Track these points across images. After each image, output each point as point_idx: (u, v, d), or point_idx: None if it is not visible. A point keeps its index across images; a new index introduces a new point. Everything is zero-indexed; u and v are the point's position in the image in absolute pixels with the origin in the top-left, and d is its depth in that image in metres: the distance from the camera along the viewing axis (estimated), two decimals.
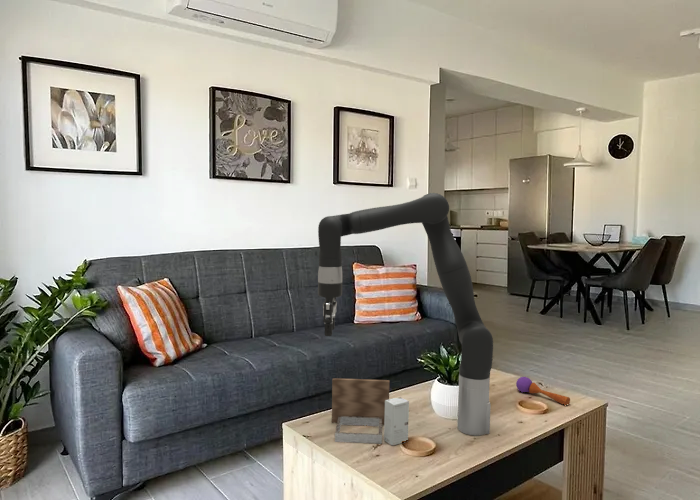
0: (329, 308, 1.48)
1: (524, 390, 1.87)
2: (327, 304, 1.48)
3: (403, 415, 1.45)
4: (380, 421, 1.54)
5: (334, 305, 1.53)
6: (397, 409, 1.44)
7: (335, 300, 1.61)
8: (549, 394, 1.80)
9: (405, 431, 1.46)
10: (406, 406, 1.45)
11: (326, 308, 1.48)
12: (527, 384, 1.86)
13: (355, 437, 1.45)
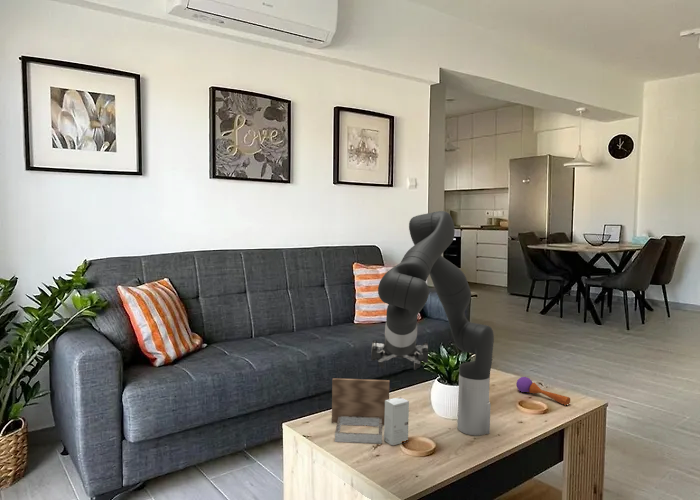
0: None
1: (524, 390, 1.87)
2: (427, 347, 1.22)
3: (403, 415, 1.45)
4: (380, 421, 1.54)
5: None
6: (397, 409, 1.44)
7: None
8: (549, 394, 1.80)
9: (405, 431, 1.46)
10: (406, 406, 1.45)
11: None
12: (527, 384, 1.86)
13: (355, 437, 1.45)
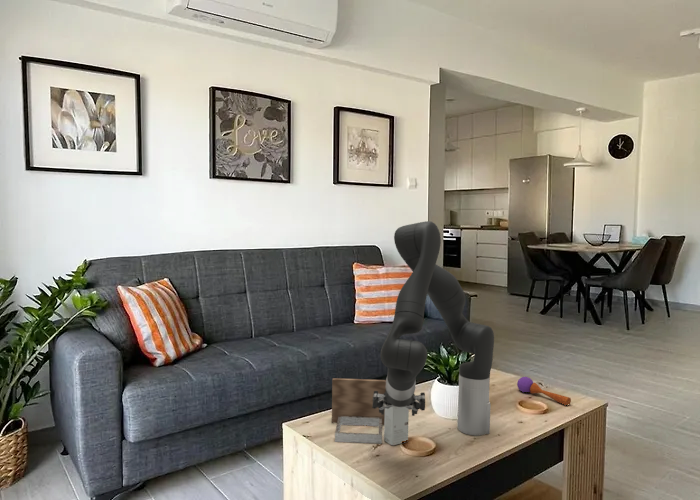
0: None
1: (525, 390, 1.87)
2: (424, 397, 1.32)
3: (403, 415, 1.45)
4: (380, 421, 1.54)
5: None
6: (397, 409, 1.44)
7: None
8: (550, 394, 1.80)
9: (405, 431, 1.46)
10: None
11: None
12: (528, 384, 1.86)
13: (355, 437, 1.45)
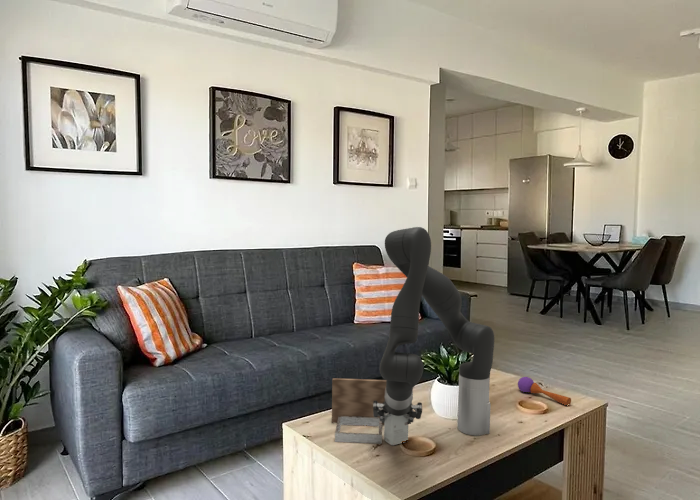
0: None
1: (525, 390, 1.87)
2: (421, 407, 1.40)
3: None
4: (380, 421, 1.54)
5: None
6: None
7: None
8: (550, 394, 1.80)
9: (405, 431, 1.46)
10: None
11: None
12: (528, 384, 1.86)
13: (355, 437, 1.45)
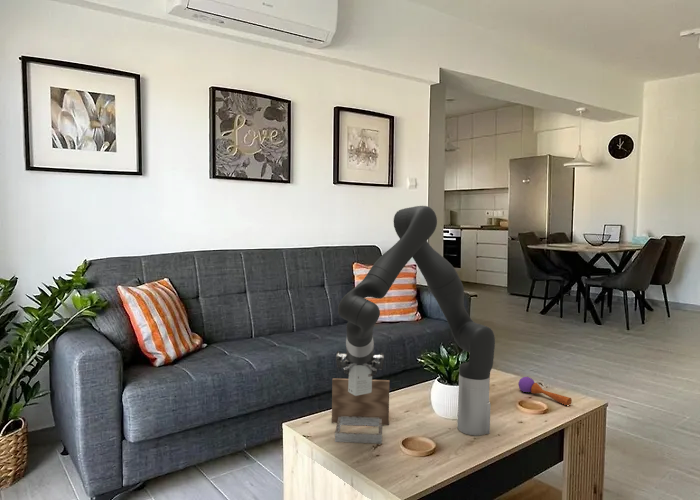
0: None
1: (526, 390, 1.87)
2: (383, 357, 1.43)
3: (366, 367, 1.48)
4: (380, 421, 1.54)
5: None
6: None
7: None
8: (551, 394, 1.80)
9: (369, 382, 1.49)
10: None
11: None
12: (529, 384, 1.86)
13: (355, 437, 1.45)
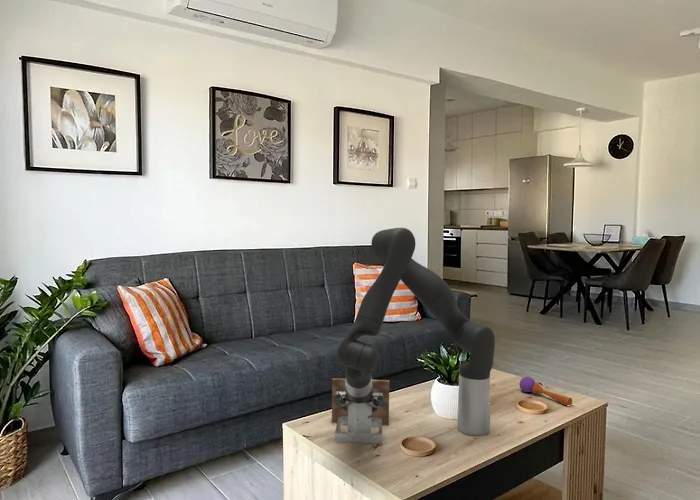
0: None
1: (527, 390, 1.87)
2: (382, 395, 1.44)
3: (366, 408, 1.49)
4: (380, 421, 1.54)
5: None
6: None
7: None
8: (551, 394, 1.80)
9: (368, 424, 1.50)
10: None
11: (382, 397, 1.45)
12: (530, 384, 1.86)
13: (355, 437, 1.45)
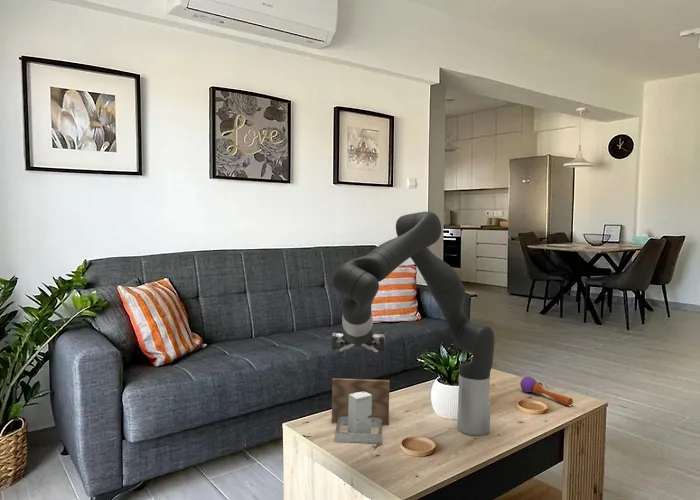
0: (384, 336, 1.31)
1: (528, 390, 1.87)
2: (383, 336, 1.30)
3: (366, 408, 1.49)
4: (380, 421, 1.54)
5: None
6: (360, 402, 1.48)
7: None
8: (552, 395, 1.80)
9: (368, 424, 1.50)
10: (369, 400, 1.50)
11: (384, 339, 1.30)
12: (530, 384, 1.86)
13: (355, 437, 1.45)
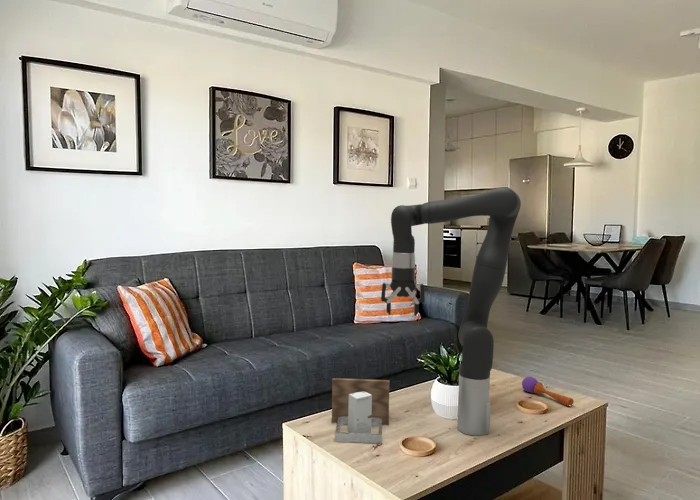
0: None
1: (529, 390, 1.87)
2: (423, 285, 1.65)
3: (366, 408, 1.49)
4: (380, 421, 1.54)
5: None
6: (360, 402, 1.48)
7: None
8: (553, 395, 1.80)
9: (368, 424, 1.50)
10: (369, 400, 1.50)
11: (423, 288, 1.65)
12: (532, 384, 1.86)
13: (355, 437, 1.45)
